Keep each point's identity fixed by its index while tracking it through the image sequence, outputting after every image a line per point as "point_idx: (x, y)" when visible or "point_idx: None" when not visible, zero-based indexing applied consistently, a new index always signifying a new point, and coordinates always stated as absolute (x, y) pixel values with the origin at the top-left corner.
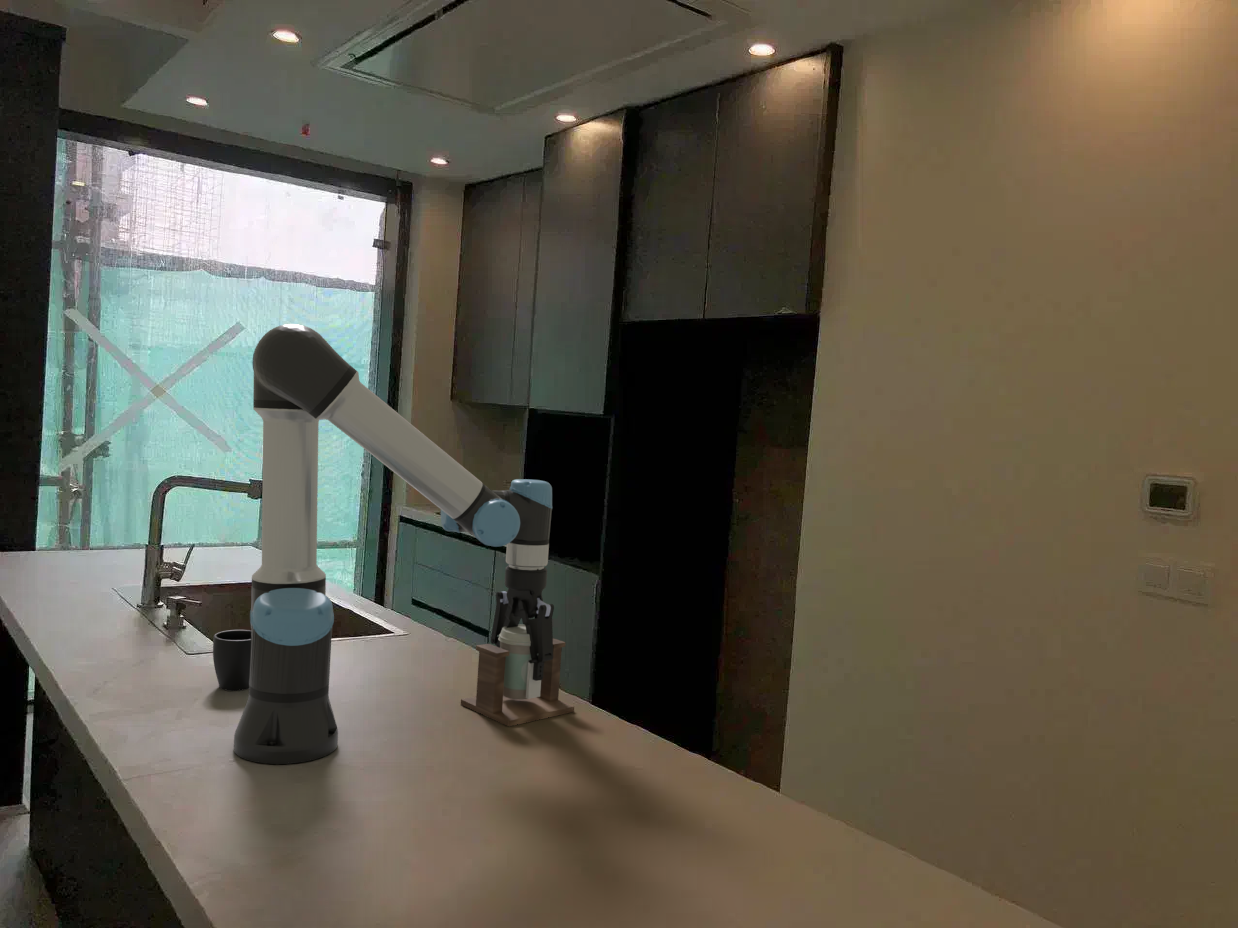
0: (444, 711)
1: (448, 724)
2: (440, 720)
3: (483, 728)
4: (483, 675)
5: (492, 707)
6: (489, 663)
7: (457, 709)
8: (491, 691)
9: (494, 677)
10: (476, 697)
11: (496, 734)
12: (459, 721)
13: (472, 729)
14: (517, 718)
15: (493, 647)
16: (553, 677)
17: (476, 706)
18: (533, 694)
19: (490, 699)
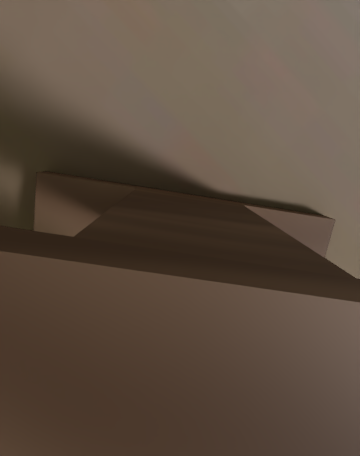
0: (317, 116)
1: (204, 13)
2: (258, 25)
3: (87, 86)
4: (232, 227)
5: (138, 190)
6: (179, 245)
7: (298, 170)
8: (146, 202)
9: (113, 213)
10: (249, 209)
11: (7, 73)
12: (201, 75)
13: (104, 44)
14: (38, 216)
15: (255, 440)
16: None
17: (237, 203)
18: None
19: (154, 198)
